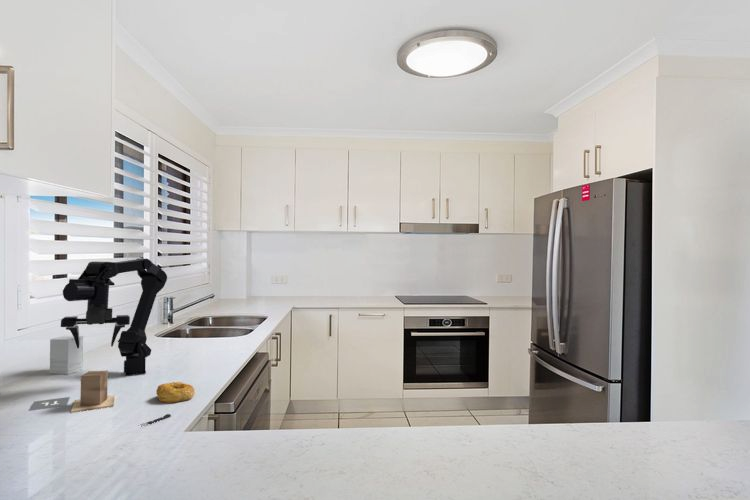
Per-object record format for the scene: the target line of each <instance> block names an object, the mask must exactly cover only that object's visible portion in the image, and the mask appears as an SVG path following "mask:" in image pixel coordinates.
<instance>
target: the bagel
mask: <svg viewBox="0 0 750 500" xmlns="http://www.w3.org/2000/svg"><path fill="white" fill-rule="evenodd" d="M155 393H156V395H157V399H158V400H159V402H161V403H167V404H171V403H173V404H174V403H178V402H184V401H189V400H192V398H193V397H194V396H195V393H196V391H195V388H194V387H193V385H191V384H190V383H189V384H187V383H183V382H182V381H177V382H175V381H172V382H169V383H162V384H159V385H158V386H157V388H156V391H155Z"/></svg>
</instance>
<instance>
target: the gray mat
mask: <svg viewBox="0 0 750 500" xmlns="http://www.w3.org/2000/svg"><path fill="white" fill-rule="evenodd" d="M70 398H71V396H66V397H59V398H52V399H51V398H50V399H44V400H43V399H42V400H37V401H33V403H32V404H31V406H30V407H29V409H28V412H31V411H37V410H46V409H53V408H62V407H66V406H68V403H69V400H70Z"/></svg>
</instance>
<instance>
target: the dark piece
mask: <svg viewBox="0 0 750 500" xmlns="http://www.w3.org/2000/svg"><path fill="white" fill-rule="evenodd" d="M171 417H172V414H170V413H166V414H165V415H163V416H161V417H159V418H156V419H153V420H150V421H146V422H141V423H142V424H140V423H139V424H140V425H141V427H142V426H145V425H148V424H150V425H153V424H155V423H158V422H160V420H161V421H163V420H165V419H169V418H171ZM157 421H158V422H157ZM154 422H155V423H154ZM152 423H153V424H152ZM138 426H139V425H138ZM148 426H149V425H148ZM145 427H146V426H145ZM142 428H143V427H142Z"/></svg>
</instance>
